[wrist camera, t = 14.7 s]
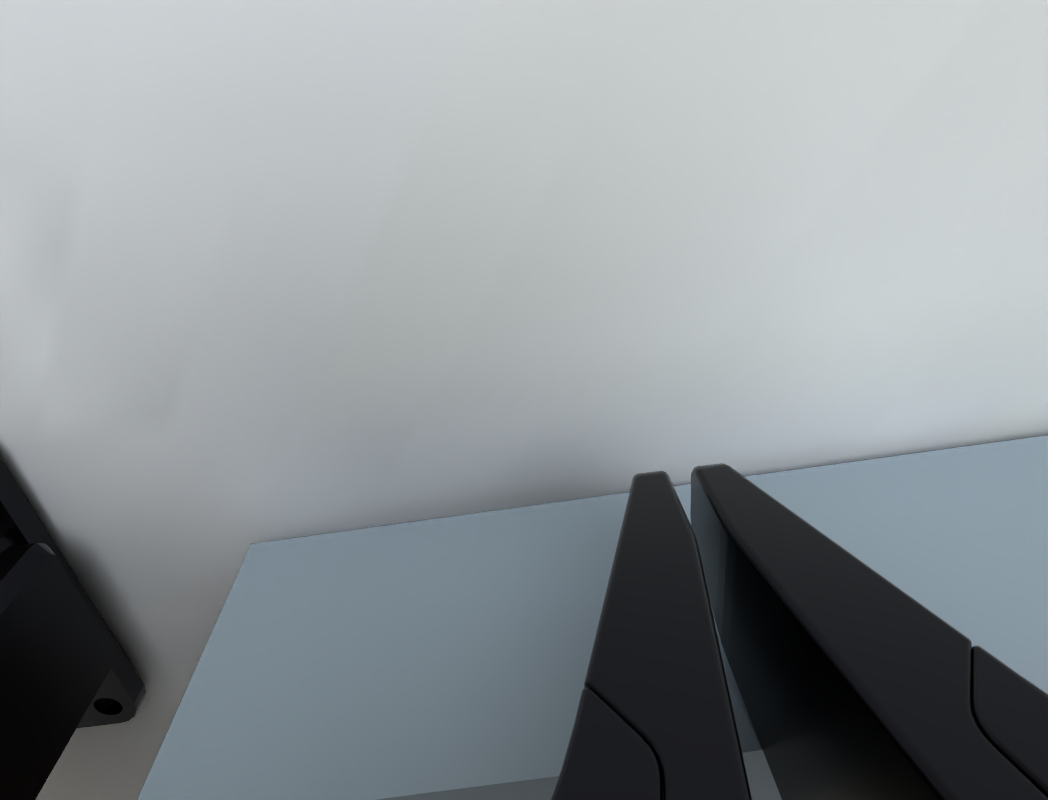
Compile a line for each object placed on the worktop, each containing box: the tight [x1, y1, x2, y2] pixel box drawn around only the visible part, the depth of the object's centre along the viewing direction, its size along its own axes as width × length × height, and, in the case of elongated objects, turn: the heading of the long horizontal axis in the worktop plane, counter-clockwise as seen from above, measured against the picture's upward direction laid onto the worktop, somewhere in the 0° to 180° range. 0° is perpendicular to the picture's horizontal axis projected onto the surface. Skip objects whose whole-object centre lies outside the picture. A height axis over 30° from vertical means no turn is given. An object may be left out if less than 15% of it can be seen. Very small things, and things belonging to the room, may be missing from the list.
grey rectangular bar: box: [137, 435, 1048, 800], centre depth 9 cm, size 15×2×4 cm, turn 97°
